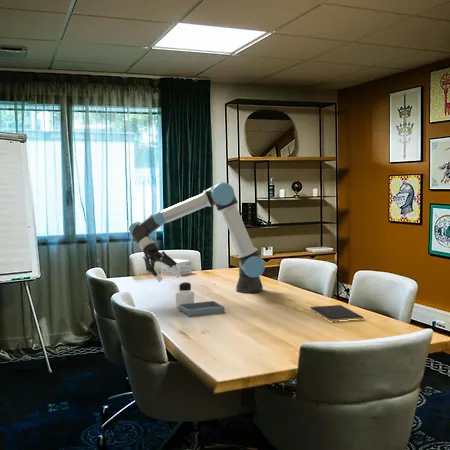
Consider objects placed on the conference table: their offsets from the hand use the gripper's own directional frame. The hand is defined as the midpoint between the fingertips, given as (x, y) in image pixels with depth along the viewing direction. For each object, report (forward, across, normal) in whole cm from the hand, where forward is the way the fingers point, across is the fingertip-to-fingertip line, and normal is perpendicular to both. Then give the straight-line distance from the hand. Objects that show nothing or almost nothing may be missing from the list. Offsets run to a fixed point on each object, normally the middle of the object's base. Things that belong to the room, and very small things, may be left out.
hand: (170, 278), depth 265 cm
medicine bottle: (+16, 0, -3) cm, 17 cm away
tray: (+26, +3, +7) cm, 26 cm away
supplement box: (-35, -72, -54) cm, 97 cm away
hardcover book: (+65, -26, +46) cm, 84 cm away
